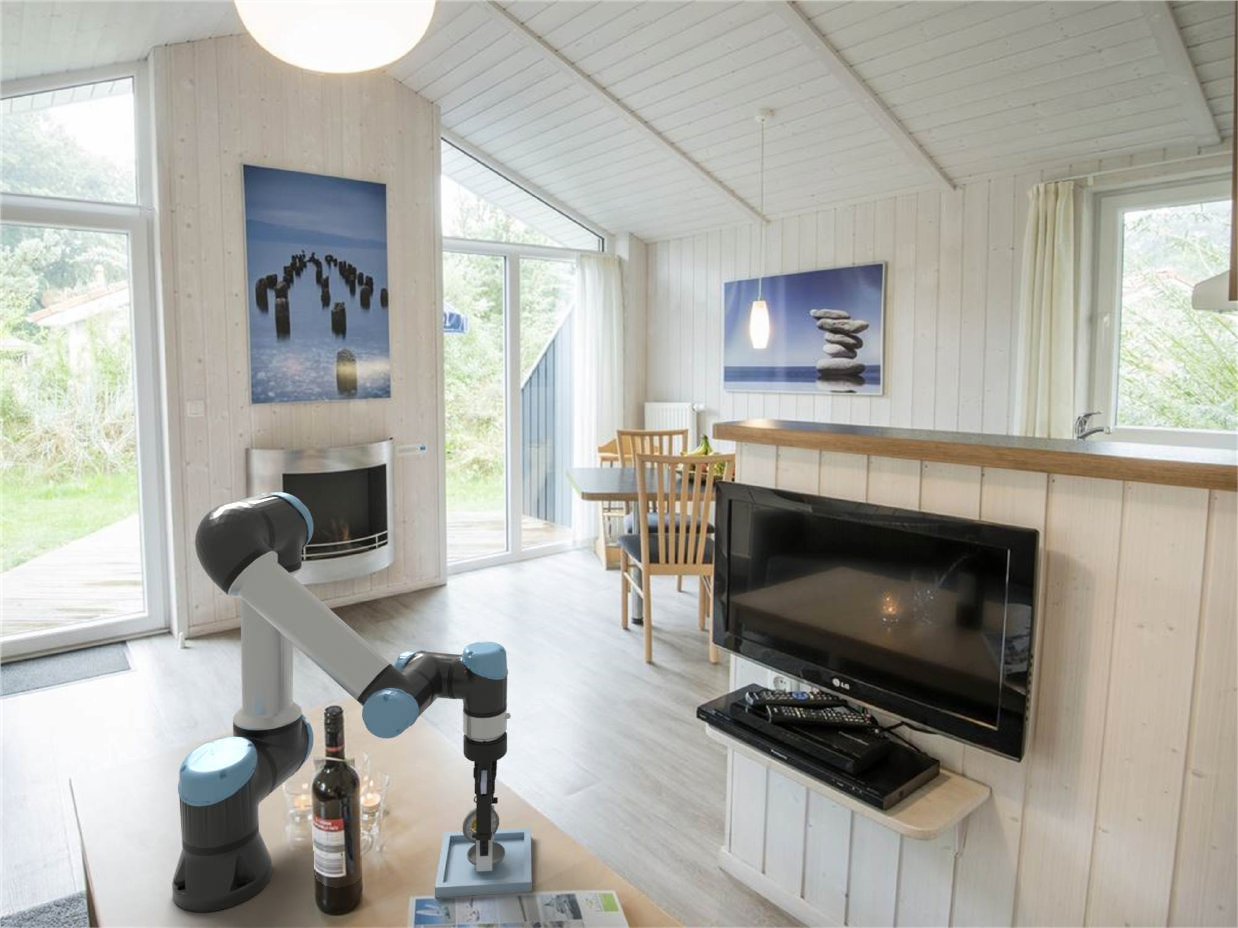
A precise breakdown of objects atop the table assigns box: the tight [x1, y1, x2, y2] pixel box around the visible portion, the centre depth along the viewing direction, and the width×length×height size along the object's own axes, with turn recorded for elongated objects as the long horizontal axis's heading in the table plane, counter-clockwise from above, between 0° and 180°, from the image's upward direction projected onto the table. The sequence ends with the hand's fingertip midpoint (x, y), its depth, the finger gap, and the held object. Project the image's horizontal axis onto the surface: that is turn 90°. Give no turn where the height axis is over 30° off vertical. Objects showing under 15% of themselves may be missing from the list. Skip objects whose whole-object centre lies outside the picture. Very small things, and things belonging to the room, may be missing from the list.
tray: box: [434, 827, 532, 898], centre depth 143 cm, size 16×16×2 cm
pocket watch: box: [462, 795, 505, 866], centre depth 143 cm, size 8×8×10 cm
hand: (485, 854), depth 143 cm, fingers closed on pocket watch, 8 cm apart
